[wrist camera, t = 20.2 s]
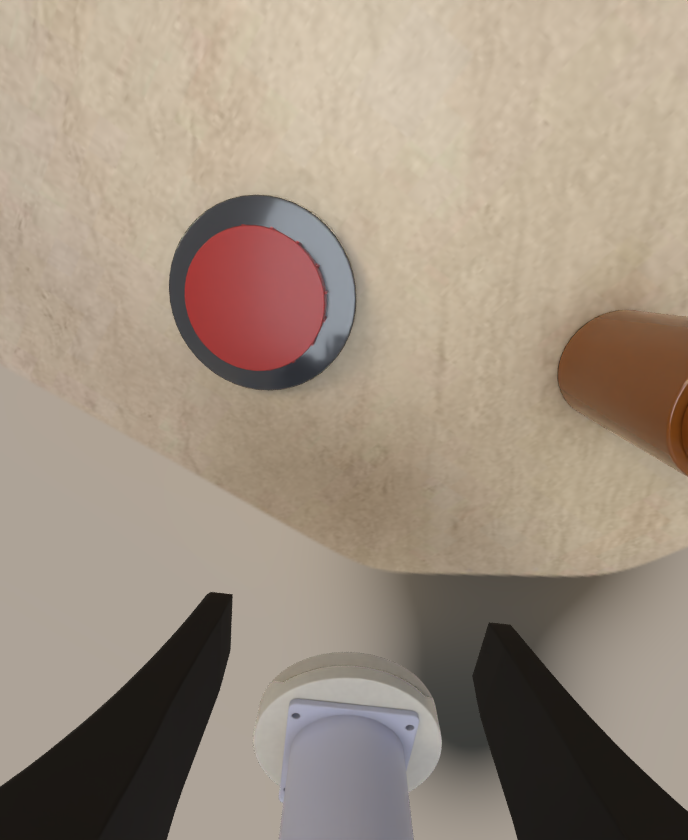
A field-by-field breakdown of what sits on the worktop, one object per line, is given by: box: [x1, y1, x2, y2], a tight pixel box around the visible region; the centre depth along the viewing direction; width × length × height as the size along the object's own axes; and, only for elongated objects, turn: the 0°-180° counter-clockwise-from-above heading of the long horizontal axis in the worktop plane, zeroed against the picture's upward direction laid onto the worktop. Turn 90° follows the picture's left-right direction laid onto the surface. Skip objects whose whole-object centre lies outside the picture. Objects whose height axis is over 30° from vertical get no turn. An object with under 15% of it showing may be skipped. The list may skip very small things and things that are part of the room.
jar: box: [558, 310, 688, 477], centre depth 15 cm, size 5×5×8 cm
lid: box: [185, 224, 328, 371], centre depth 17 cm, size 6×6×2 cm
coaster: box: [169, 195, 356, 390], centre depth 18 cm, size 8×8×1 cm
